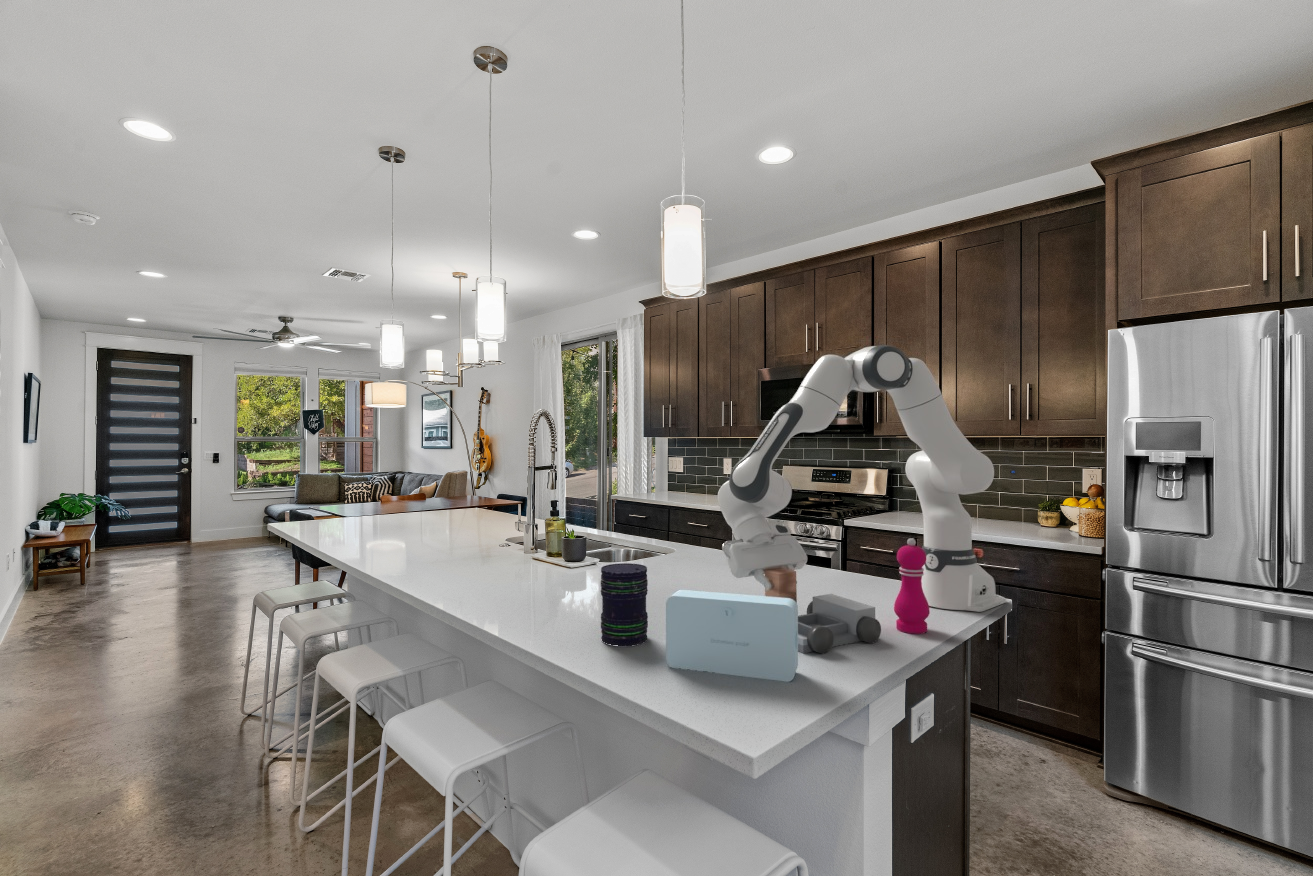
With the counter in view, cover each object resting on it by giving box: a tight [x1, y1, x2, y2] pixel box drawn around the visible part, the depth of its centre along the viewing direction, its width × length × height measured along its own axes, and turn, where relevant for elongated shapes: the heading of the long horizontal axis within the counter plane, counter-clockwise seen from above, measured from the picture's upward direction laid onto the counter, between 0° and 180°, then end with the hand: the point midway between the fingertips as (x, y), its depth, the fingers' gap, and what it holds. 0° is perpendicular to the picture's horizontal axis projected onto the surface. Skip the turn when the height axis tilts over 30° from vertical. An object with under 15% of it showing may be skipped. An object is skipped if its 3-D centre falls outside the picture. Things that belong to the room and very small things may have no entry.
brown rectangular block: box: [764, 568, 798, 604], centre depth 145 cm, size 5×5×8 cm
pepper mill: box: [893, 537, 930, 635], centre depth 139 cm, size 7×7×20 cm
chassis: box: [798, 593, 882, 655], centre depth 134 cm, size 20×17×6 cm
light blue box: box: [665, 589, 799, 683], centre depth 115 cm, size 23×6×13 cm, turn 71°
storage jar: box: [600, 562, 649, 647], centre depth 133 cm, size 10×10×15 cm
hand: (782, 586), depth 144 cm, fingers closed on brown rectangular block, 5 cm apart
